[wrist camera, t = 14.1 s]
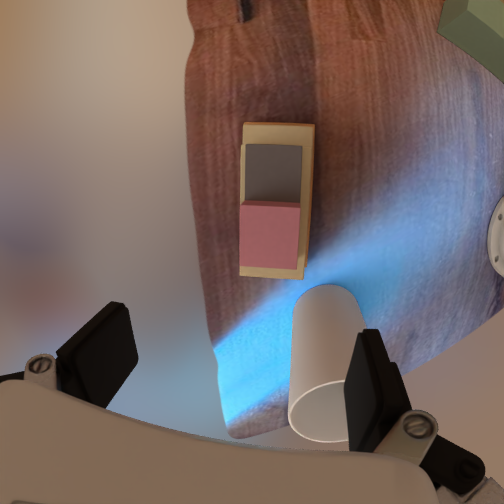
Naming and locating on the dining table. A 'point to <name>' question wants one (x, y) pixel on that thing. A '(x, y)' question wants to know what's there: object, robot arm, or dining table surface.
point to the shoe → (304, 138)
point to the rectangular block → (476, 30)
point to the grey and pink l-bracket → (271, 206)
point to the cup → (322, 361)
